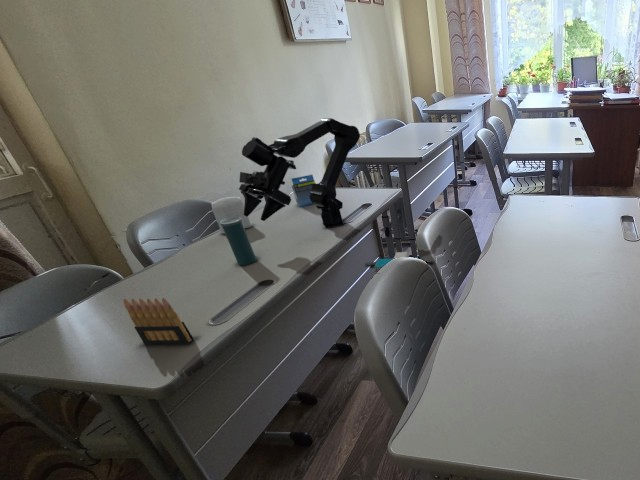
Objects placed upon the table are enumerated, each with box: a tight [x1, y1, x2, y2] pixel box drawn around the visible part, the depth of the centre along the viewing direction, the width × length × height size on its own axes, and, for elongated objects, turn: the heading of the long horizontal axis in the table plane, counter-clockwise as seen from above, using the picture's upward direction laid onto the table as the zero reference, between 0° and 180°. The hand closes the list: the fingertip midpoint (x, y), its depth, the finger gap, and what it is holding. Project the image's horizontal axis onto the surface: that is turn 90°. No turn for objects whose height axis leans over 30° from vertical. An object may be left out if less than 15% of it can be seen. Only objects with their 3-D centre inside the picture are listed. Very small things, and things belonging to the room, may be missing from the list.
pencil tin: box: [220, 217, 257, 266], centre depth 123 cm, size 6×6×14 cm
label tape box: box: [290, 174, 316, 208], centre depth 171 cm, size 9×4×12 cm, turn 130°
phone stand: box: [363, 251, 432, 274], centre depth 121 cm, size 20×12×2 cm, turn 91°
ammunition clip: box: [123, 297, 194, 346], centre depth 89 cm, size 11×2×12 cm, turn 88°
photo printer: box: [210, 196, 252, 235], centre depth 148 cm, size 10×4×12 cm, turn 134°
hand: (253, 218), depth 125 cm, fingers open, 9 cm apart
